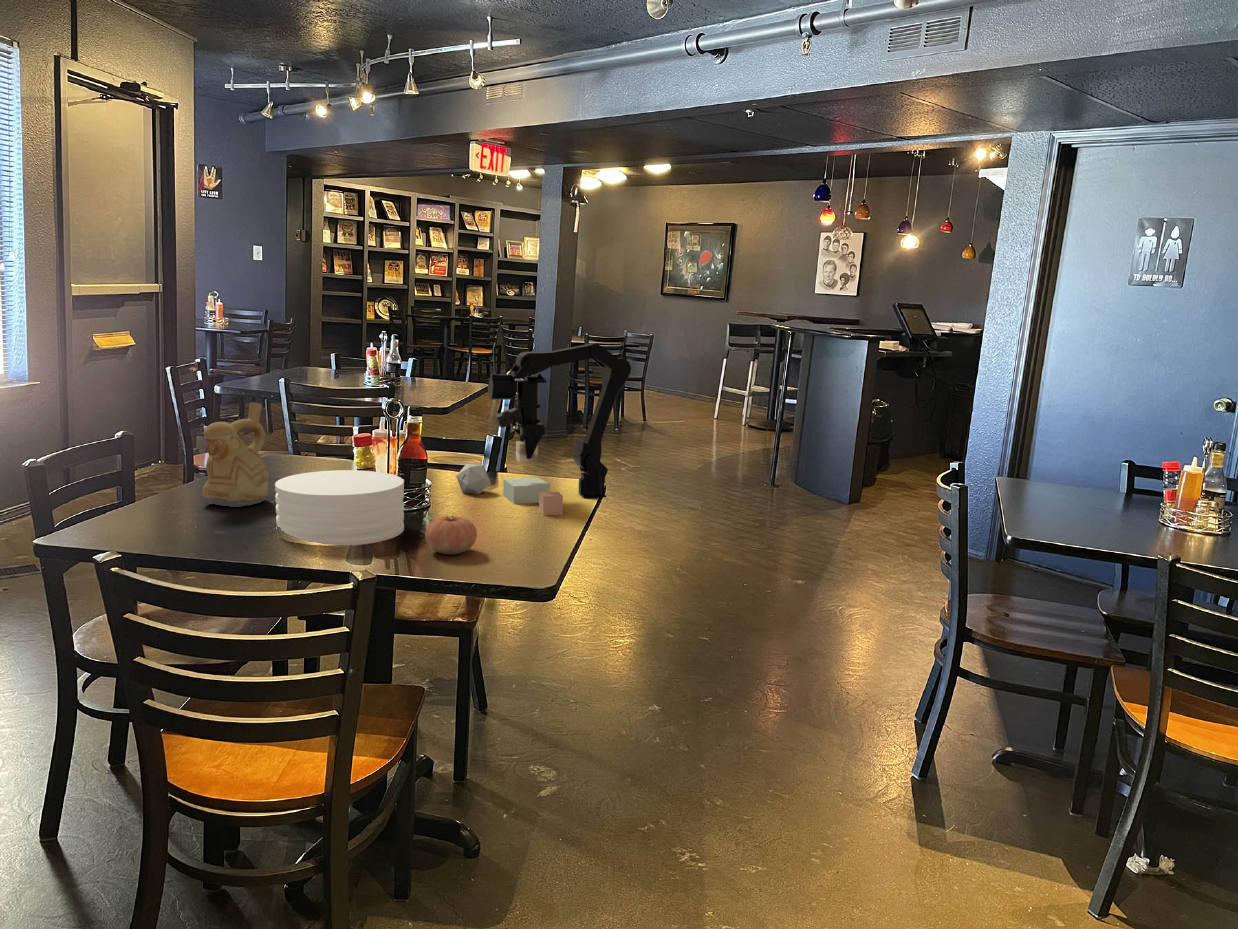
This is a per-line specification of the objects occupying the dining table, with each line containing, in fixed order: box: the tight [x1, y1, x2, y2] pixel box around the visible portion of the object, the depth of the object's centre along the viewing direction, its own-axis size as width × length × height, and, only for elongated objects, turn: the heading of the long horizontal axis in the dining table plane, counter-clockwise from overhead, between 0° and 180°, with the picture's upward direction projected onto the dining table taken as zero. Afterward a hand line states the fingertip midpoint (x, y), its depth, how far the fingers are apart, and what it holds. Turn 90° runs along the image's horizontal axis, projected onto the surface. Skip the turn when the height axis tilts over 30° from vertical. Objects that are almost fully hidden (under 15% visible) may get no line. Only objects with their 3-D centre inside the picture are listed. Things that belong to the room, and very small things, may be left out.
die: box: [455, 463, 491, 495], centre depth 254 cm, size 8×9×10 cm
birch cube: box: [515, 440, 539, 464], centre depth 247 cm, size 5×5×5 cm
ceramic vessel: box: [201, 402, 269, 501], centre depth 230 cm, size 17×20×25 cm
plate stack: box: [274, 469, 405, 546], centre depth 209 cm, size 28×28×12 cm
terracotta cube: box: [538, 491, 564, 516], centre depth 234 cm, size 5×5×5 cm
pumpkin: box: [424, 515, 478, 556], centre depth 195 cm, size 11×11×8 cm
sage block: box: [502, 477, 551, 505], centre depth 249 cm, size 10×10×5 cm
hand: (526, 456), depth 247 cm, fingers closed on birch cube, 5 cm apart
